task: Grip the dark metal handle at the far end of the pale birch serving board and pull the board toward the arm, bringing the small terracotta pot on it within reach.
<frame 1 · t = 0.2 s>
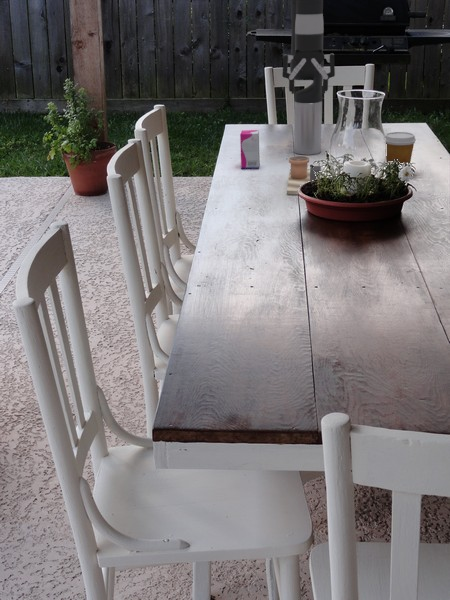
hand: (308, 93, 220), 28 cm above the table, fingers open, 8 cm apart
birch board: (305, 171, 236), point 4 cm above the table, slide at 0.0 cm, touching terracotta pot
supplement box: (250, 167, 257), on the table
terracotta pot: (298, 176, 240), point 1 cm above the table, touching birch board
disposable coffee cup: (397, 174, 244), on the table
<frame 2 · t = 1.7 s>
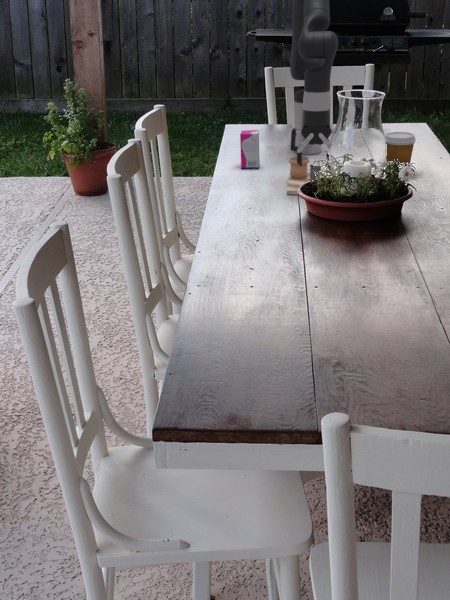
hand: (315, 165, 225), 8 cm above the table, fingers open, 8 cm apart
nothing on the table moved.
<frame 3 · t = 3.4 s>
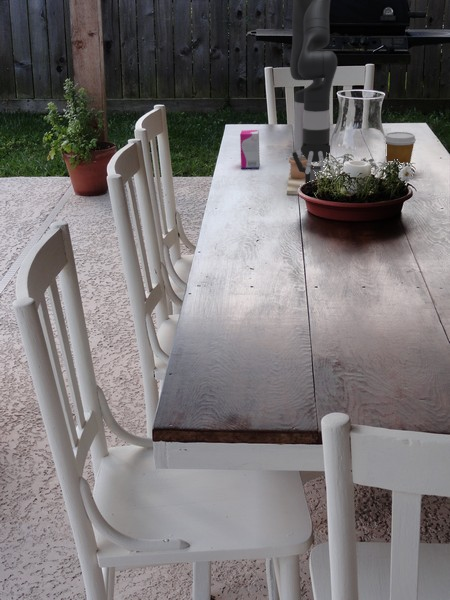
hand: (315, 185, 228), 2 cm above the table, fingers closed on birch board, 3 cm apart
birch board: (305, 171, 236), point 4 cm above the table, slide at 0.0 cm, touching gripper, terracotta pot
everything else where it was.
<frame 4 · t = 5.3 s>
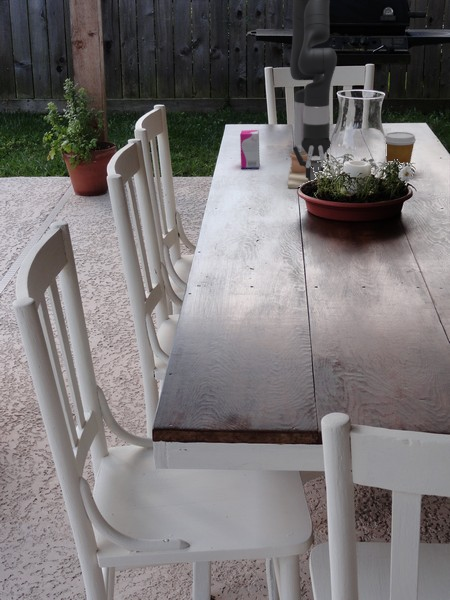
hand: (315, 179, 234), 2 cm above the table, fingers closed on birch board, 3 cm apart
birch board: (305, 165, 242), point 4 cm above the table, slide at 6.7 cm, touching gripper, terracotta pot
terracotta pot: (299, 171, 246), point 1 cm above the table, touching birch board
everything else where it was.
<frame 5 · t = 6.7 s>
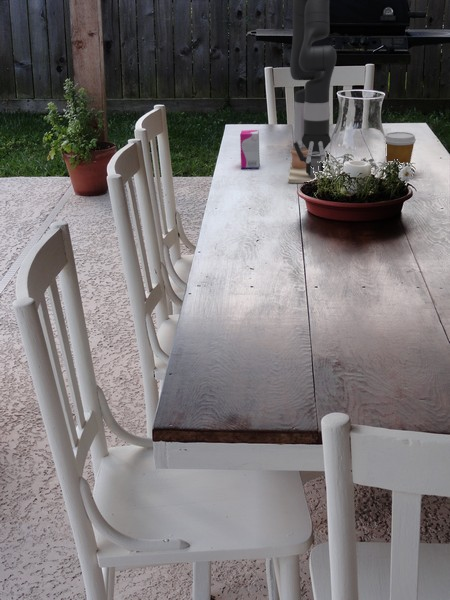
hand: (315, 174, 239), 2 cm above the table, fingers closed on birch board, 3 cm apart
birch board: (306, 161, 247), point 4 cm above the table, slide at 11.9 cm, touching gripper, terracotta pot
terracotta pot: (299, 166, 251), point 1 cm above the table, touching birch board
everything else where it was.
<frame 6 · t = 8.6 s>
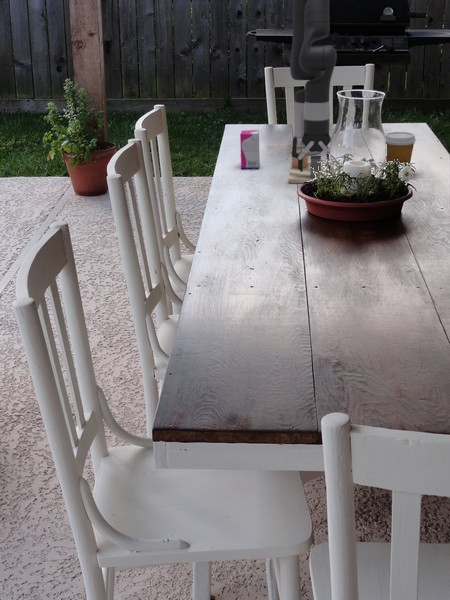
hand: (315, 171, 239), 3 cm above the table, fingers open, 8 cm apart
birch board: (306, 161, 247), point 4 cm above the table, slide at 12.0 cm, touching terracotta pot
everything else where it was.
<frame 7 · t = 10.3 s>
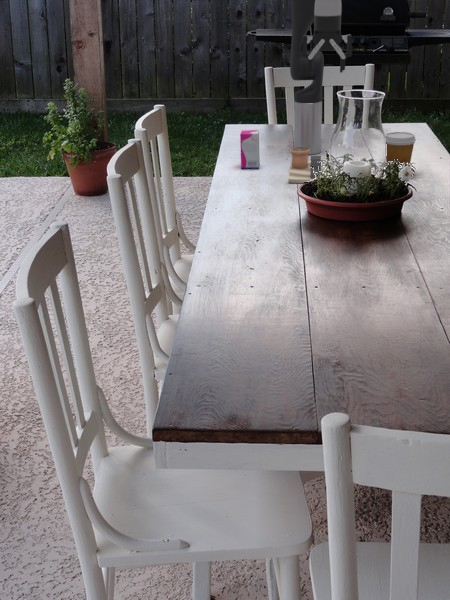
hand: (326, 72, 231), 31 cm above the table, fingers open, 8 cm apart
nothing on the table moved.
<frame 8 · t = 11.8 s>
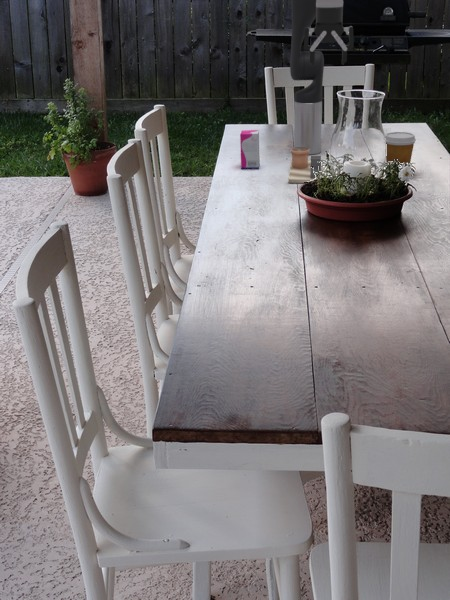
hand: (328, 64, 231), 33 cm above the table, fingers open, 8 cm apart
nothing on the table moved.
at the end: birch board slide at 12.0 cm; terracotta pot inside the target area (0.5 cm from its centre), point 1.2 cm above the table; terracotta pot tilted 0° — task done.
